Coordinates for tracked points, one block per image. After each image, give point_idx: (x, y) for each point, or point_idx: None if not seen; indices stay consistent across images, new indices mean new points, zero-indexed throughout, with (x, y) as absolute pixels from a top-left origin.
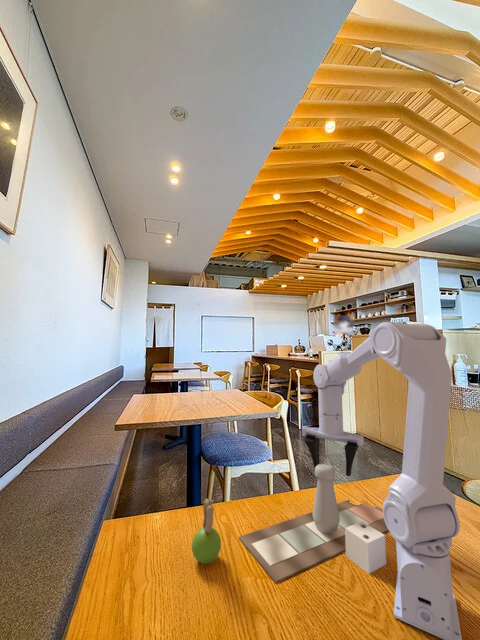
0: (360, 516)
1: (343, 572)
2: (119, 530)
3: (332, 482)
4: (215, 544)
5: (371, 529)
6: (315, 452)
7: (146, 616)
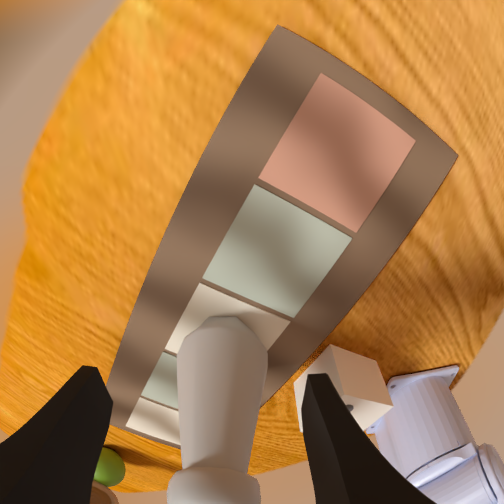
0: (317, 207)
1: (295, 412)
2: (6, 429)
3: (248, 463)
4: (121, 478)
5: (366, 407)
6: (84, 489)
7: (136, 486)
